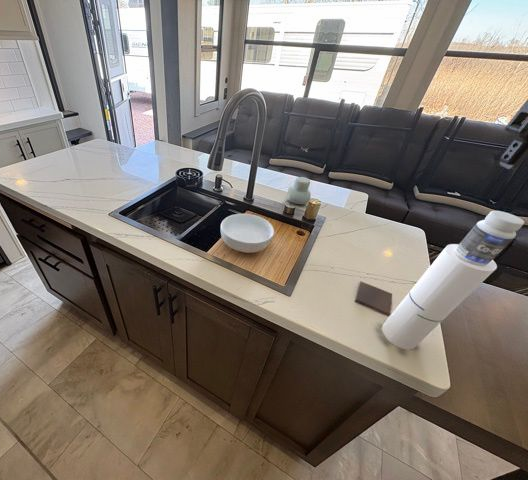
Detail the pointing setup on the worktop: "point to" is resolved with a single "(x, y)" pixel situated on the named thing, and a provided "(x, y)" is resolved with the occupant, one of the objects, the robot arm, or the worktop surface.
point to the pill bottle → (489, 237)
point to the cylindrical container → (434, 297)
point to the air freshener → (299, 191)
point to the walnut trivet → (374, 298)
